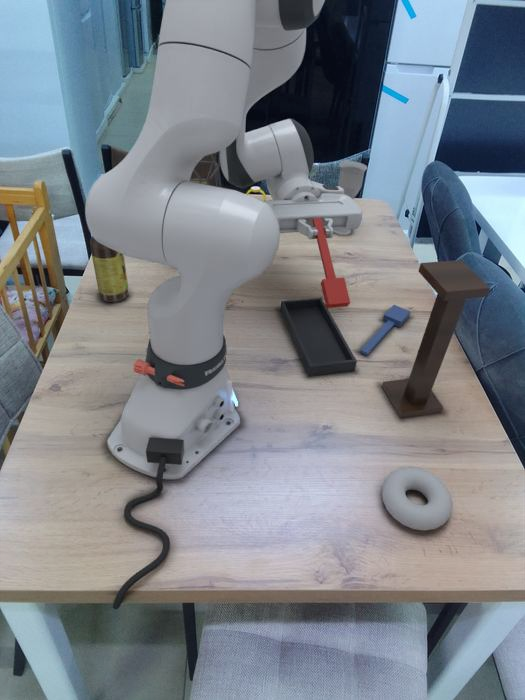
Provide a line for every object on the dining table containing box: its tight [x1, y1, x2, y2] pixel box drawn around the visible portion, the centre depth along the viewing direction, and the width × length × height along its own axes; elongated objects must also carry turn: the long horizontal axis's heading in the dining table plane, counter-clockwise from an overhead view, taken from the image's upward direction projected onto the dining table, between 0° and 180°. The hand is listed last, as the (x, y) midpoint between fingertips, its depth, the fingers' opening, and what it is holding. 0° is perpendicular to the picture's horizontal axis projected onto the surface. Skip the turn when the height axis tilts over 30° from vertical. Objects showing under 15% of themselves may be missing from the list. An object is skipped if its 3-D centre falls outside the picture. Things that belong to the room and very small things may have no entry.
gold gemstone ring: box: [245, 185, 267, 202], centre depth 147 cm, size 6×3×6 cm, turn 85°
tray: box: [279, 297, 358, 377], centre depth 102 cm, size 21×9×2 cm, turn 13°
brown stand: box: [381, 259, 491, 419], centre depth 83 cm, size 8×8×26 cm
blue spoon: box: [359, 304, 411, 357], centre depth 105 cm, size 18×4×2 cm, turn 144°
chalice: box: [333, 160, 368, 236], centre depth 135 cm, size 7×7×18 cm
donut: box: [381, 466, 453, 531], centre depth 73 cm, size 10×3×10 cm
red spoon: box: [312, 218, 351, 309], centre depth 91 cm, size 18×4×2 cm, turn 13°
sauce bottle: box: [89, 235, 129, 303], centre depth 104 cm, size 6×6×20 cm
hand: (321, 235), depth 92 cm, fingers closed on red spoon, 2 cm apart
